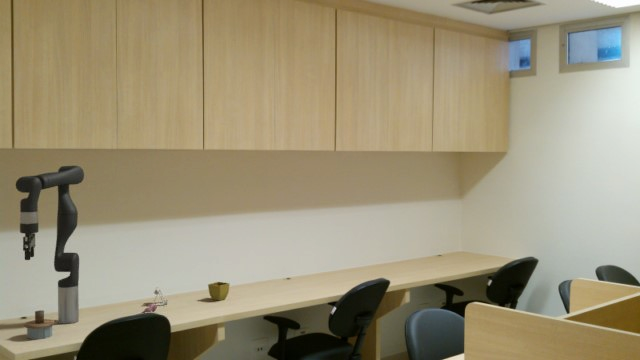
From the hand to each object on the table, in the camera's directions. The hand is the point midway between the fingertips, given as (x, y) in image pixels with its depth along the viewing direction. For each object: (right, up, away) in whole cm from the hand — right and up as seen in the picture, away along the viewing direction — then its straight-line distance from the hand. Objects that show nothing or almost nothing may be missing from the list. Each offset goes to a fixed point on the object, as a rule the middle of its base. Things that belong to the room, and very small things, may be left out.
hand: (29, 258), depth 291 cm
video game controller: (+43, -33, +38) cm, 66 cm away
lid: (+5, -29, -1) cm, 30 cm away
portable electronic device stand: (+42, -33, +64) cm, 84 cm away
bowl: (+5, -34, -1) cm, 35 cm away
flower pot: (+72, -32, +76) cm, 110 cm away
